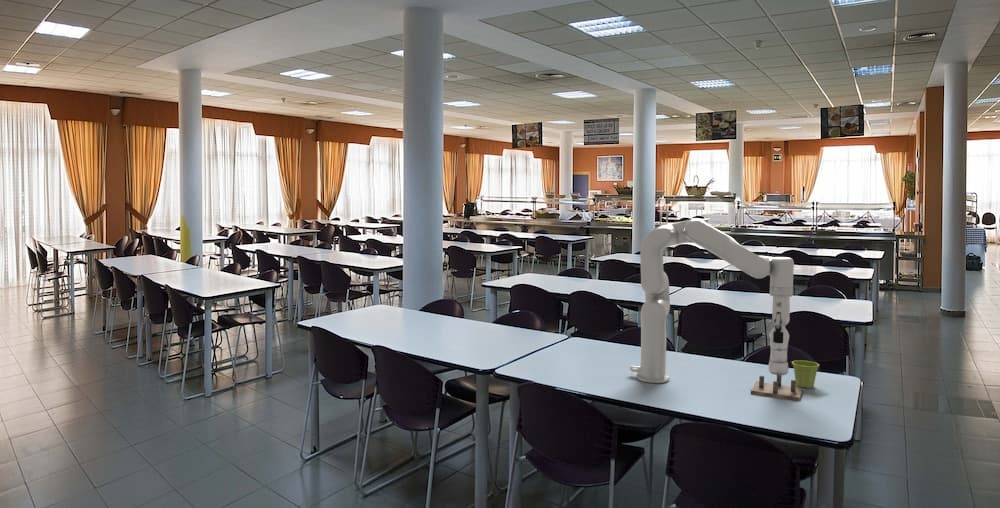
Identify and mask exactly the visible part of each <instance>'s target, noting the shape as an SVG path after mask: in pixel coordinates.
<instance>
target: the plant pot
mask: <svg viewBox="0 0 1000 508" xmlns="http://www.w3.org/2000/svg"><path fill="white" fill-rule="evenodd" d="M791 365H792V367H793V372H794V380H796V387H800V388H807V389H812V388H814V387H815V381H816V376H817V372H818V369H819V367H820V364H819V363H817V362H815V361H809V360H793V361H791Z"/></svg>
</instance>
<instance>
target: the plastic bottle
mask: <svg viewBox="0 0 1000 508" xmlns="http://www.w3.org/2000/svg"><path fill="white" fill-rule="evenodd" d="M780 323H782V322H780ZM774 325H775V324H774V323H773V326H774ZM780 326H781V325H780ZM786 326H787V325H785V323H783V343H774V342H773V333H774V327H772V329H771V330H770V331H769V334H768V335H769V342H770V344H769V345H770V356H769V362H768V372H769V373H770V374H771V375H776V376H777V375H782V376H785V375H787V374H788V373H789V363H788V347H789V341H790V334H789V331H788V330H787V328H786Z"/></svg>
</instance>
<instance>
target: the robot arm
mask: <svg viewBox="0 0 1000 508" xmlns="http://www.w3.org/2000/svg"><path fill="white" fill-rule="evenodd" d="M690 242H692V243H694V244H695V245H697V246H699V247H701V248H702V249H704V250H706V251H708V252H710V253H711V254H713V255H715V256H716V257H718V258H719V259H721V260H723V261H724V262H726V263H728V264H730V265H732V266H733V267H735V268H736V269H738V270H740V271H742V272H744V273H745V274H747V275H748V276H751V277H752V278H755V279H763V278H765V277H767V276H769V278H770V279H769V296H771V297H772V310H771V311H772V312H771V313H772V314H771V315H772V318H771V319H772V323H773V328H774V333H773V342H774V343H783V323H785V325H786V326H787V325H788V324H789V323H790V317H791V316H790V314H791V311H790V307H791V306H790V305H791V303H790V301H791V300H790V299H791V297H793V293H794V272H795V271H794V270H795V269H794V268H795V266H794V265H795V262H794V260H793V258H791V257H787V256H775V257H774V256H773V257H772V256H767V255H758V254H756V253H755V252H752V251H751V250H749V249H747V248H746V247H744V246H743V245H741V244H740V243H738V242H737V240H735V239H734V238H733V237H732V236H730V235H728V234H726V233H725V232H723V231H721V230H719V229H717V228H716V227H714V226H712V225H710V224H708V223H707V222H706V221H705V220H704V219H701V218H699V217H693V218H691V219H687V220H683V221H678V222H673V223H672V222H671V223H667V224H663V225H660V226H657V227H655V228H653V229H652V230H651V231H649V232H648V233H647V234H646V235H645V236H644V238H643V239H642V241H641V244H640V251H639V252H640V253H639V254H640V255H639V256H640V259H639V260H640V286H641V290H643V292H644V296H645V302H644V303H643V304H642V306H641V309H640V365H638V366H637V365H633V364H632V365H630V368H629V370H630V371H631V372H633V373H634V372H636V375H635V376H636V377H635V378H636V379H637V380H638V381H640V382H644V383H648V384H649V383H650V384H662V383H663V384H664V383H667V382H669V381H670V375H668V374H666V371H667V370H666V368H667V364H666V361H667V359H666V358H667V316H668V314H669V312H670V309H671V302H670V300H671V299H670V298H671V297H670V295H671V294H670V281H669V277H668V275H667V273H666V272H665V271H664V270H665V269H664V258H663V257H664V256H663V255H664V251H665V249H666V248H669V247H671V246H677V245H681V244H685V243H690ZM780 322H782V323H780ZM774 324H775V325H774ZM780 325H781V326H780Z"/></svg>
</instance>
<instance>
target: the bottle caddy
mask: <svg viewBox="0 0 1000 508" xmlns="http://www.w3.org/2000/svg"><path fill="white" fill-rule="evenodd" d="M782 376H783V375H776V381H773V382H772V383H770V382H765V375H759V377H758V378H759V381H755V383H754V384H753V386H752V388H751V389H750V394H751V395H755V396H757V395H758V396H763V397H764V396H765V397H771V398H776V399H777V398H778V399H783V400H790V401H791V400H792V401H798V402H799V401H801V398H802V395H803V391H804V387H799V386H797V385H796V380H795V379H790V385H784V384H782Z"/></svg>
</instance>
